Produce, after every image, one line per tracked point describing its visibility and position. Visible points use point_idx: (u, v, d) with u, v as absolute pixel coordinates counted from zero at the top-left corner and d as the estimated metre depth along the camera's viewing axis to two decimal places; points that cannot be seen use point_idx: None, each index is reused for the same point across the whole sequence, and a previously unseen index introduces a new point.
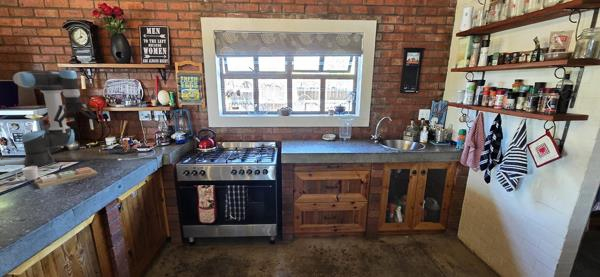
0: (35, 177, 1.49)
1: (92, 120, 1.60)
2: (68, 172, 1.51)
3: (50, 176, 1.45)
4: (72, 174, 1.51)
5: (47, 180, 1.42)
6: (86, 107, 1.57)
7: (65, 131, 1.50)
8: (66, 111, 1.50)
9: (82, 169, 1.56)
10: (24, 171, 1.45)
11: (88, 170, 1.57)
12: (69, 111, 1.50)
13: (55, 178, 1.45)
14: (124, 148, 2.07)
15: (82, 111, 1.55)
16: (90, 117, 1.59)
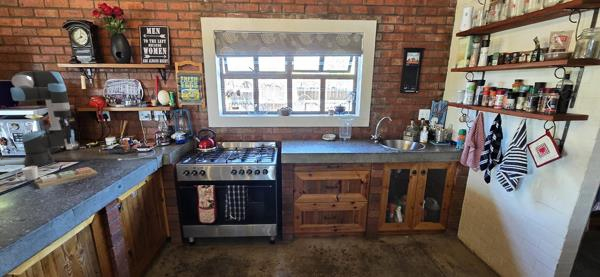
0: (35, 177, 1.49)
1: (66, 139, 1.51)
2: (68, 172, 1.51)
3: (50, 176, 1.45)
4: (72, 174, 1.51)
5: (47, 180, 1.42)
6: None
7: (66, 147, 1.52)
8: None
9: (82, 169, 1.56)
10: (24, 171, 1.45)
11: (88, 170, 1.57)
12: (60, 125, 1.49)
13: (55, 178, 1.45)
14: (124, 148, 2.07)
15: (61, 126, 1.48)
16: (64, 135, 1.50)
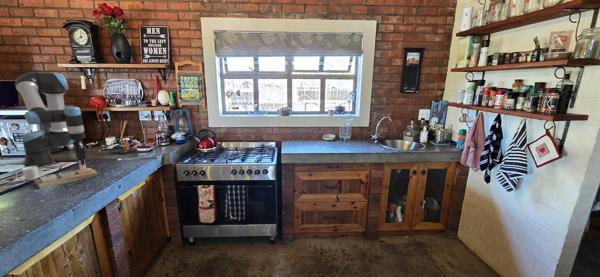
0: (35, 177, 1.49)
1: (80, 161, 1.55)
2: (68, 172, 1.51)
3: (50, 176, 1.45)
4: (72, 174, 1.51)
5: (47, 180, 1.42)
6: None
7: (80, 168, 1.56)
8: None
9: (82, 170, 1.57)
10: (24, 171, 1.45)
11: (88, 171, 1.57)
12: (75, 147, 1.53)
13: (55, 178, 1.45)
14: (124, 148, 2.07)
15: (76, 148, 1.52)
16: (79, 157, 1.54)
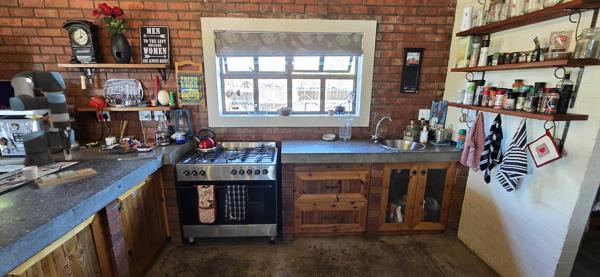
0: (35, 177, 1.49)
1: (66, 150, 1.48)
2: (68, 172, 1.51)
3: (50, 176, 1.45)
4: (72, 174, 1.51)
5: (47, 180, 1.42)
6: None
7: (65, 158, 1.49)
8: None
9: (82, 171, 1.57)
10: (24, 171, 1.45)
11: None
12: (59, 136, 1.47)
13: (55, 178, 1.45)
14: (124, 148, 2.07)
15: (60, 137, 1.46)
16: (64, 146, 1.47)
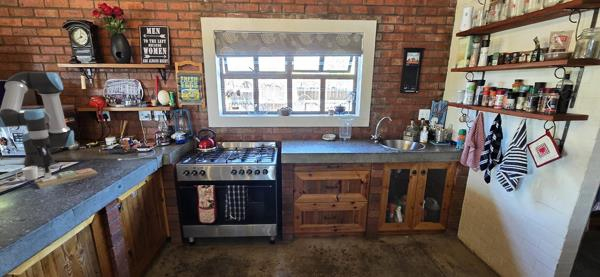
0: (35, 177, 1.49)
1: (44, 168, 1.42)
2: (68, 172, 1.51)
3: (50, 178, 1.45)
4: (72, 174, 1.51)
5: None
6: None
7: (44, 176, 1.43)
8: None
9: (82, 171, 1.57)
10: (24, 171, 1.45)
11: None
12: (38, 154, 1.40)
13: None
14: (124, 148, 2.07)
15: (39, 155, 1.39)
16: (42, 164, 1.41)
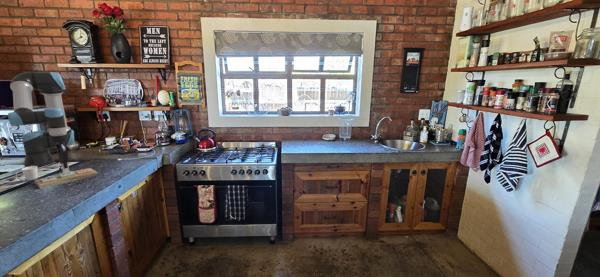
0: (35, 177, 1.49)
1: (63, 164, 1.48)
2: (68, 173, 1.51)
3: (50, 178, 1.45)
4: (72, 175, 1.51)
5: None
6: None
7: (63, 172, 1.49)
8: None
9: (82, 171, 1.57)
10: (24, 171, 1.45)
11: None
12: (57, 150, 1.47)
13: None
14: (124, 148, 2.08)
15: (58, 151, 1.46)
16: (61, 160, 1.47)
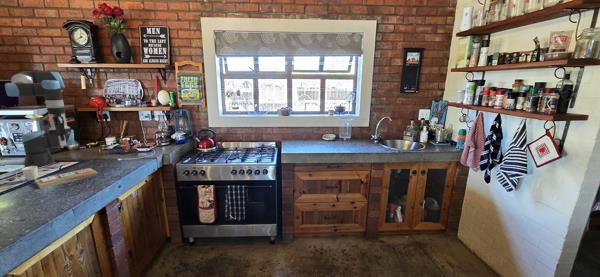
0: (35, 177, 1.49)
1: (60, 136, 1.51)
2: (68, 174, 1.51)
3: (50, 178, 1.45)
4: None
5: None
6: None
7: (60, 144, 1.52)
8: None
9: (82, 171, 1.57)
10: (24, 171, 1.45)
11: None
12: (54, 122, 1.49)
13: None
14: (124, 148, 2.08)
15: (55, 123, 1.48)
16: (58, 132, 1.50)
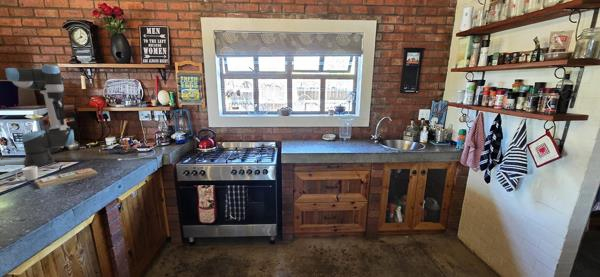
0: (35, 177, 1.49)
1: (60, 121, 1.54)
2: (68, 174, 1.51)
3: (50, 178, 1.45)
4: None
5: None
6: None
7: (60, 128, 1.56)
8: None
9: (82, 171, 1.57)
10: (24, 171, 1.45)
11: None
12: (54, 107, 1.53)
13: None
14: (124, 148, 2.08)
15: (55, 108, 1.52)
16: (58, 116, 1.54)
